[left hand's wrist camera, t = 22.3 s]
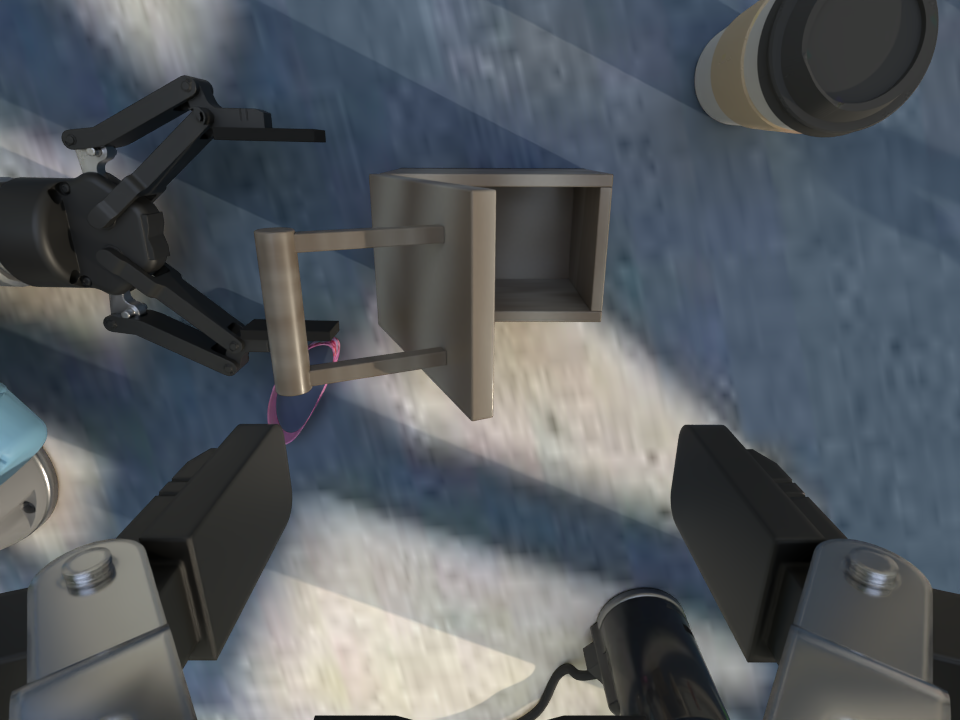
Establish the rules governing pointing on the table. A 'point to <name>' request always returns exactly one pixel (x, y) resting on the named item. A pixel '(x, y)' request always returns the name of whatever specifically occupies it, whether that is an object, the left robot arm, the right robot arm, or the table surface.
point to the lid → (400, 290)
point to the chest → (543, 238)
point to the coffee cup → (817, 64)
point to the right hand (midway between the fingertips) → (328, 239)
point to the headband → (272, 402)
